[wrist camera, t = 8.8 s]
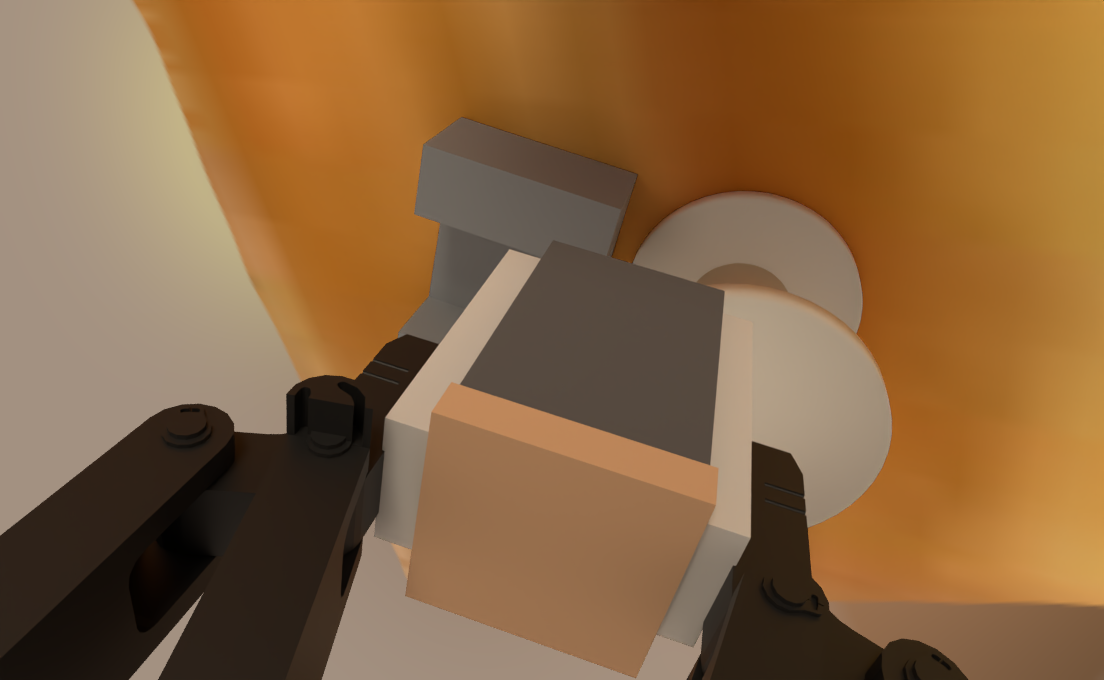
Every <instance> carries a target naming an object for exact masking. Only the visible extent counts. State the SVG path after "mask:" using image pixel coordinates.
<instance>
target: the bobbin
mask: <svg viewBox="0 0 1104 680" xmlns="http://www.w3.org/2000/svg"><path fill="white" fill-rule="evenodd" d="M632 264H636V265H639V266H642V267H646V268H649V269H652V270H656V271H659V272H663V273H666V274H669V275H673V276H676V277H679V278H683V279H686V280H689V281H693V282H696V283H700V284H703V285H706V286H710V287H713V288H716V289H720V290H723V291H725V295H724V307H723V313H724V314H728V315H731V316H734V317H738V318H741V319H744V320H748V321H751V322H753V345H752V441H754V442H757V443H760V444H763V445H766V446H769V447H773V448H776V449H779V450H782V451H785V452H788V453H791V454H792V456H793V458H794V460H795V461H796V463H797V465H798V467H799V468H800V470H801V472H802V474H803V480H804V492H805V496H804V499H805V504H806V513H805V515H806V516H807V528H808V527H811V526H813V525H816V524H819V523H821V522H823V521H825V520H827V519H829V518H831V517H833V516H835V515H837V514H838V513H840V512H841V511H843V510H844V509H846V508H847V507H849V506H850V505H851V504H852V503H854V502H855V501H856V500H857V499H858V498H859V497H860V496H861V495H862V494H864V492H865V491H866V490H867V489H868V488H869V486H870V485H871V484H872V483H873V482H874V480H875V479H876V477H877V475H878V474H879V472H880V470H881V469H882V467H883V464H884V462H885V459H886V457H887V454H888V452H889V447H890V442H891V436H892V416H891V410H890V404H889V399H888V395H887V391H886V386H885V383H884V380H883V377H882V374H881V371H880V368H879V366H878V364H877V363H876V361H875V359H874V357H873V355H872V353H871V352H870V350H869V349H868V348H867V346H866V345H865V344H864V342H863V341H862V340H861V339H860V337H859V336H858V335H857V331H858V328H859V324H860V321H861V315H862V308H863V297H862V288H861V282H860V277H859V273H858V269H857V266H856V263H855V260H854V257H853V255H852V253H851V251H850V249H849V247H848V245H847V243H846V242H845V241H844V239H843V238H842V237H841V235H840V234H839V233H838V231H837V230H836V229H835V228H834V227H833V226H832V225H831V224H830V223H829V222H828V221H827V220H826V219H824V218H823V217H822V216H820V215H819V214H818V213H816V212H815V211H813V210H812V209H810V208H808V207H806V206H804V205H803V204H801V203H798V202H796V201H793V200H791V199H788V198H786V197H782V196H778V195H774V194H770V193H764V192H756V191H733V192H725V193H718V194H714V195H710V196H706V197H703V198H700V199H698V200H695V201H693V202H690V203H688V204H686V205H684V206H682V207H681V208H679V209H677V210H675V211H674V212H673V213H671V214H670V215H668V216H667V217H666V218H664V219H663V220H662V221H661V222H660V223H659V224H658V225H657V226H656V227H655V228H653V230H652V231H651V232H650V233H649V235H648V236H647V237H646V238H645V240H644V241H643V243H642V245H641V246H640V248H639V250H638V251H637V254H636V256H635V258H634V261H633V263H632Z"/></svg>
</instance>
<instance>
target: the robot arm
mask: <svg viewBox="0 0 1104 680" xmlns="http://www.w3.org/2000/svg"><path fill="white" fill-rule="evenodd" d="M540 260H541V259H540V258H537V257H534V256H530V255H527V254H524V253H520V252H517V251H514V250H510V249H509V251H508V252H507V253H506V255H505V256H504V257H503V259H502V260H501V261H500V263H499V264H498V265H497V267H496V268H495V270H494V271H493V272H492V274H491V275H490V276H489V278H488V279H487V280H486V282H485V283H484V284H483V286H482V287H481V288H480V290H479V291H478V293H477V294H476V295H475V297H474V298H473V299H472V301H471V302H470V303H469V305H468V306H467V307H466V309H465V310H464V312H463V313H462V314H461V316H460V317H459V318H458V320H457V321H456V322H455V324H454V325H453V326H452V328H451V329H450V330H449V332H448V333H447V335H446V336H445V337H444V339H443V340H442V341H441V343H440V344H437V343H434V342H431V341H428V340H425V339H422V338H418V337H415V336H412V335H409V334H406V335H404V336H402V337H399V338H397V339H395V340H393V341H391V342H389V343H387V344H386V345H385V346H384V347H383V348H382V349H381V350H380V352H379V353H378V354H377V355H376V356H375V357H374V359H373V362H372V361H371V362H370V363H369V364H368V366H367V367H366V368H365V369H364V370H363V373H362V374H360V375H359V376H358V377H357V378H356V379H355V380H353V379H349V378H346V377H343V376H330V375H324V376H318V377H313V378H308V379H306V380H304V381H302V382H300V383H298V384H296V385H295V386H294V387H293V388H292V389H291V390H290V391H289V392H288V393H287V394H286V395H287V396H286V398H287V400H286V401H287V433H286V434H257V433H243V432H234V423H233V421H232V420H231V419H230V417H229V416H228V414H227V413H225V412H223V411H222V410H220V409H218V408H216V407H213V406H208V405H203V404H185V405H179V406H175V407H172V408H168V409H164V410H163V411H161V412H159V413H157V414H155V415H154V416H152V417H150V418H149V419H148V420H146V421H145V422H144V423H143V424H141V425H140V426H139V427H137V428H136V429H135V430H134V431H132V432H131V433H130V434H129V435H127V436H126V437H125V438H124V439H122V440H121V441H120V442H118V443H117V444H116V445H115V446H114V447H112V448H111V449H110V450H108V451H107V452H106V453H105V454H103V455H102V456H101V457H100V458H98V459H97V460H96V461H94V462H93V463H92V464H91V465H89V466H88V467H87V468H85V469H84V470H83V471H82V472H80V473H79V474H78V475H77V476H75V477H74V478H73V479H72V480H70V481H69V482H68V483H66V484H65V485H64V486H63V487H61V488H60V489H59V490H58V491H56V492H55V493H54V494H53V495H51V496H50V497H49V498H47V499H46V500H45V501H44V502H42V503H41V504H40V505H39V506H37V507H36V508H35V509H34V510H32V511H31V512H30V513H28V514H27V515H26V516H25V517H23V518H22V519H21V520H20V521H18V522H17V523H16V524H15V525H13V526H12V527H11V528H10V529H8V530H7V531H6V532H4V533H3V534H2V535H1V536H0V680H129V679H130V678H131V676H132V675H133V674H134V673H135V672H136V671H137V669H138V668H139V667H140V666H141V665H142V664H143V663H144V661H145V660H146V659H147V658H148V657H149V655H150V654H151V653H152V652H153V651H154V650H155V648H156V647H157V646H158V645H159V644H160V642H162V640H163V639H164V638H165V637H166V636H167V635H168V633H169V632H170V631H171V630H172V629H173V627H174V626H175V625H176V624H177V623H178V622H179V620H180V619H181V618H182V617H183V616H184V615H185V614H186V612H187V611H188V610H189V609H190V608H191V607H192V605H193V604H194V603H195V602H196V600H197V599H198V598H199V597H200V596H201V595H202V594H203V595H202V597H201V599H200V601H199V603H198V605H197V607H196V608H195V610H194V613H193V614H192V616H191V618H190V620H189V622H188V624H187V626H186V628H185V629H184V632H183V633H182V635H181V637H180V639H179V641H178V643H177V645H176V647H175V649H174V650H173V652H172V654H171V656H170V658H169V660H168V662H167V664H166V666H165V668H164V670H163V671H162V673H161V675H160V677H159V679H158V680H322V677H323V674H324V670H325V667H326V664H327V661H328V658H329V655H330V652H331V649H332V645H333V642H334V639H335V636H336V633H337V630H338V627H339V624H340V621H341V617H342V614H343V611H344V608H345V605H346V602H347V599H348V596H349V592H350V589H351V586H352V583H353V580H354V577H355V574H356V571H357V568H358V564H359V561H360V558H361V553H362V541H363V536H364V535H365V533H366V532H367V530H368V529H369V527H370V525H371V524H372V522H373V521H374V519H375V518H376V522H375V533H374V536H375V537H377V538H380V539H383V540H385V541H388V542H391V543H394V544H397V545H400V546H403V547H406V548H408V549H411V550H412V545H413V538H414V531H415V524H416V517H417V510H418V503H419V496H420V489H421V482H422V475H423V468H424V461H425V454H426V447H427V440H428V433H429V426H430V419H431V412H432V410H433V409H434V407H435V406H436V404H437V403H438V401H439V400H440V398H441V397H442V395H443V394H444V392H445V391H446V389H447V388H448V386H449V385H450V383H451V382H453V383H456V384H459V385H460V383H461V382H462V380H463V379H464V377H465V376H466V374H467V372H468V371H469V369H470V368H471V366H472V365H473V363H474V362H475V360H476V359H477V357H478V355H479V354H480V352H481V351H482V349H483V348H484V346H485V345H486V343H487V342H488V340H489V338H490V337H491V335H492V334H493V332H494V331H495V329H496V328H497V326H498V324H499V323H500V321H501V320H502V318H503V317H504V315H505V314H506V312H507V311H508V309H509V307H510V306H511V304H512V303H513V301H514V300H515V298H516V297H517V295H518V294H519V292H520V290H521V289H522V287H523V286H524V284H525V283H526V281H527V280H528V278H529V277H530V275H531V273H532V272H533V270H534V269H535V267H536V266H537V264H538V263H539V261H540ZM752 345H753V322H751V321H748V320H744V319H741V318H738V317H734V316H731V315H728V314H724V313H723V319H722V331H721V343H720V355H719V367H718V379H717V391H716V403H715V415H714V427H713V438H712V450H711V462H710V466H713V467H717V468H719V469H718V484H717V498H716V506H715V509H714V511H713V513H712V515H711V517H710V519H709V522H708V524H707V526H706V528H705V530H704V532H703V534H702V537H701V539H700V541H699V543H698V545H697V547H696V550H695V552H694V554H693V556H692V558H691V560H690V562H689V565H688V567H687V569H686V571H685V573H684V575H683V578H682V580H681V582H680V584H679V586H678V588H677V591H676V593H675V595H674V597H673V599H672V601H671V603H670V606H669V608H668V610H667V612H666V614H665V616H664V619H663V621H662V623H661V625H660V627H659V629H658V632H657V634H656V635H659V636H662V637H665V638H668V639H671V640H674V641H676V642H680V643H682V644H685V645H688V646H691V647H694V645H695V643H696V641H697V639H698V637H699V635H700V633H701V631H702V630H703V635H702V648H701V654H700V656H699V658H698V660H697V662H696V663H695V665H694V667H693V669H692V671H691V673H690V675H689V676H688V678H687V680H968V679H967V677H966V676H965V675H964V674H963V673H962V672H961V671H960V669H959V668H958V667H957V666H956V665H955V663H953V662H952V661H951V660H950V659H949V658H947V657H946V656H945V655H943V654H942V653H941V652H939V651H938V650H937V649H935V648H933V647H930V646H928V645H926V644H924V643H922V642H920V641H915V640H908V639H899V640H896V641H892V642H890V643H889V644H888V645H887V646H886V648H885V649H883V648H881V647H879V646H878V645H876V644H875V643H873V642H871V641H870V640H868V639H867V638H865V637H863V636H862V635H860V634H858V633H857V632H855V631H854V630H852V629H851V628H849V627H848V626H846V625H845V624H843V623H842V622H841V621H839V620H838V619H837V618H836V617H835V616H834V615H833V614H832V613H831V612H830V611H829V602H828V600H827V598H826V596H825V594H824V592H823V590H822V588H821V587H820V586H819V585H818V584H817V583H816V582H815V581H814V579H813V578H812V576H811V564H810V552H809V540H808V528H807V516H806V515H805V513H806V504H805V499H804V496H805V492H804V480H803V474H802V472H801V470H800V468H799V467H798V465H797V463H796V461H795V460H794V458H793V456H792V454H791V453H788V452H785V451H782V450H779V449H776V448H773V447H769V446H766V445H763V444H760V443H757V442H754V441H752Z"/></svg>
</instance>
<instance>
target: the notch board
mask: <svg viewBox="0 0 1104 680" xmlns="http://www.w3.org/2000/svg"><path fill="white" fill-rule="evenodd" d="M637 175H638V174H635V173H632V172H629V171H626V170H623V169H620V168H616V167H613V166H610V165H607V164H604V163H601V162H598V161H595V160H592V159H589V158H586V157H583V156H580V155H576V154H573V153H570V152H567V151H564V150H561V149H558V148H555V147H552V146H549V145H546V144H543V143H540V142H536V141H533V140H530V139H527V138H524V137H521V136H518V135H515V134H512V133H509V132H506V131H503V130H499V129H496V128H493V127H490V126H487V125H484V124H481V123H478V122H475V121H472V120H469V119H466V118H463V117H461V118H459V119H458V120H457V121H455V122H454V123H452V124H451V125H450V126H448V127H447V128H446V129H444V130H443V131H441V132H440V133H439V134H437V135H436V136H434V137H433V138H432V139H430V140H429V141H428V142H426V143H425V144H423V152H422V159H421V167H420V174H419V182H418V190H417V197H416V205H415V212H414V214H415V215H418V216H421V217H424V218H427V219H430V220H433V221H436V222H439V223H440V228H439V235H438V241H437V248H436V254H435V260H434V267H433V273H432V280H431V286H430V292H429V297H428V298H427V299H426V300H425V301H424V303H423V304H422V305H421V306H420V307H419V309H418V310H417V311H416V312H415V313H414V314H413V316H412V317H411V318H410V319H409V320H408V322H407V323H406V324H405V325H404V326H403V327H402V329H401V330H400V331H399V334H398V338H399V337H402V336H404V335H406V334H409V335H412V336H415V337H418V338H422V339H425V340H428V341H431V342H434V343H437V344H440V343H441V341H442V340H443V339H444V337H445V336H446V335H447V333H448V332H449V330H450V329H451V328H452V326H453V325H454V324H455V322H456V321H457V320H458V318H459V317H460V316H461V314H462V313H463V312H464V310H465V309H466V307H467V306H468V305H469V303H470V302H471V301H472V299H473V298H474V297H475V295H476V294H477V293H478V291H479V290H480V288H481V287H482V286H483V284H484V283H485V282H486V280H487V279H488V278H489V276H490V275H491V274H492V272H493V271H494V270H495V268H496V267H497V265H498V264H499V263H500V261H501V260H502V259H503V257H504V256H505V255H506V253H507V252H508V251H509V249H510V250H514V251H517V252H520V253H524V254H527V255H530V256H534V257H537V258H540V259H541V258H542V256H543V255H544V253H545V252H546V250H547V249H548V247H549V246H550V244H551V243H552V241H553V240H555V241H558V242H561V243H565V244H568V245H572V246H575V247H578V248H582V249H585V250H588V251H592V252H595V253H598V254H602V255H605V256H609V257H611V256H612V253H613V250H614V247H615V244H616V241H617V238H618V235H619V231H620V228H621V225H622V222H623V219H624V216H625V213H626V210H627V206H628V203H629V200H630V197H631V194H632V191H633V188H634V184H635V181H636V178H637Z"/></svg>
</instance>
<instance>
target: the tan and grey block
mask: <svg viewBox="0 0 1104 680" xmlns="http://www.w3.org/2000/svg"><path fill="white" fill-rule="evenodd" d="M724 295H725V291H723V290H720V289H716V288H713V287H710V286H706V285H703V284H700V283H696V282H693V281H689V280H686V279H683V278H679V277H676V276H673V275H669V274H666V273H663V272H659V271H656V270H652V269H649V268H646V267H642V266H639V265H636V264H632V263H629V262H625V261H622V260H619V259H615V258H612V257H609V256H605V255H602V254H598V253H595V252H592V251H588V250H585V249H582V248H578V247H575V246H572V245H568V244H565V243H561V242H558V241H555V240H553V241H552V243H551V244H550V246H549V247H548V249H547V250H546V252H545V253H544V255H543V256H542V258H541V260H540V261H539V263H538V264H537V266H536V267H535V269H534V270H533V272H532V273H531V275H530V277H529V278H528V280H527V281H526V283H525V284H524V286H523V287H522V289H521V290H520V292H519V294H518V295H517V297H516V298H515V300H514V301H513V303H512V304H511V306H510V307H509V309H508V311H507V312H506V314H505V315H504V317H503V318H502V320H501V321H500V323H499V324H498V326H497V328H496V329H495V331H494V332H493V334H492V335H491V337H490V338H489V340H488V342H487V343H486V345H485V346H484V348H483V349H482V351H481V352H480V354H479V355H478V357H477V359H476V360H475V362H474V363H473V365H472V366H471V368H470V369H469V371H468V372H467V374H466V376H465V377H464V379H463V380H462V382H461V383H460V385H459V384H456V383H453V382H451V383H450V385H449V386H448V388H447V389H446V391H445V392H444V394H443V395H442V397H441V398H440V400H439V401H438V403H437V404H436V406H435V407H434V409H433V410H432V412H431V419H430V426H429V433H428V440H427V447H426V454H425V461H424V468H423V475H422V482H421V489H420V496H419V503H418V510H417V517H416V524H415V531H414V538H413V545H412V552H411V559H410V566H409V573H408V580H407V587H406V595H405V596H407V597H410V598H413V599H416V600H419V601H421V602H424V603H427V604H430V605H433V606H435V607H438V608H441V609H444V610H446V611H449V612H452V613H455V614H457V615H460V616H463V617H466V618H469V619H472V620H474V621H477V622H480V623H483V624H486V625H488V626H491V627H494V628H497V629H499V630H502V631H505V632H508V633H511V634H513V635H516V636H519V637H522V638H525V639H527V640H530V641H533V642H536V643H539V644H541V645H544V646H547V647H550V648H553V649H555V650H558V651H561V652H564V653H567V654H570V655H573V656H575V657H578V658H581V659H583V660H586V661H589V662H592V663H595V664H597V665H600V666H603V667H606V668H609V669H611V670H615V671H617V672H620V673H623V674H625V675H628V676H631V677H634V678H636V677H637V674H638V672H639V670H640V668H641V666H642V664H643V662H644V660H645V657H646V655H647V653H648V651H649V649H650V646H651V644H652V642H653V640H654V638H655V636H656V634H657V632H658V629H659V627H660V625H661V623H662V621H663V619H664V616H665V614H666V612H667V610H668V608H669V606H670V603H671V601H672V599H673V597H674V595H675V593H676V591H677V588H678V586H679V584H680V582H681V580H682V578H683V575H684V573H685V571H686V569H687V567H688V565H689V562H690V560H691V558H692V556H693V554H694V552H695V550H696V547H697V545H698V543H699V541H700V539H701V537H702V534H703V532H704V530H705V528H706V526H707V524H708V522H709V519H710V517H711V515H712V513H713V511H714V509H715V506H716V498H717V484H718V469H719V468H717V467H713V466H710V462H711V450H712V438H713V427H714V415H715V403H716V391H717V379H718V367H719V355H720V343H721V331H722V319H723V307H724Z"/></svg>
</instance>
